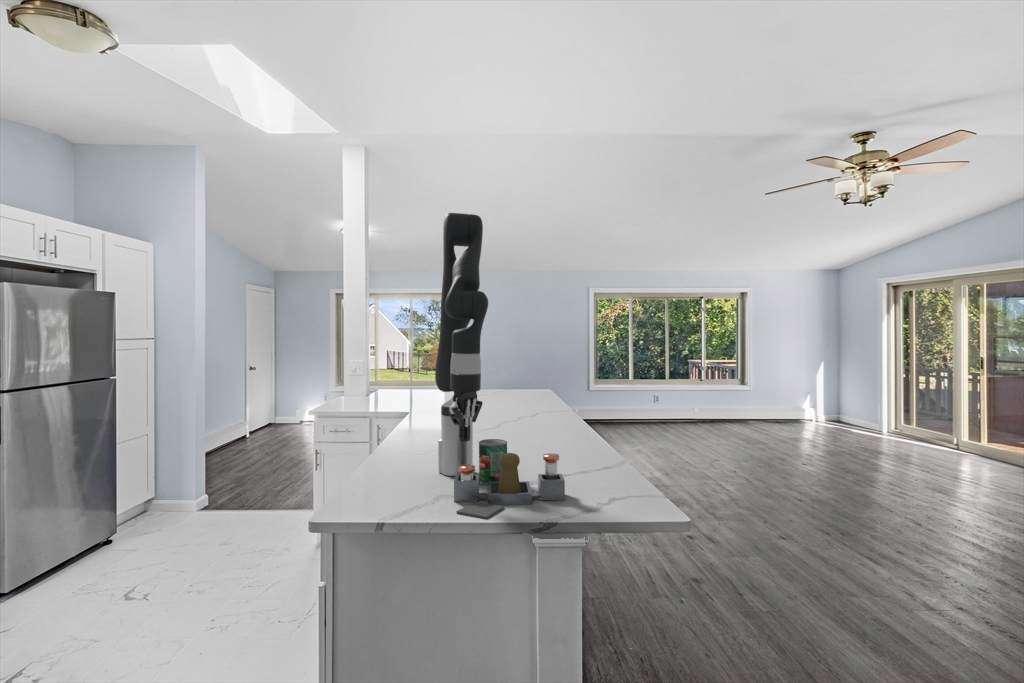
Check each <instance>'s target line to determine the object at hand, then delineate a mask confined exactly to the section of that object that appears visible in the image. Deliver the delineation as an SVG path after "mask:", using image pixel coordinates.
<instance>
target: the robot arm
mask: <svg viewBox="0 0 1024 683" xmlns="http://www.w3.org/2000/svg"><path fill="white" fill-rule="evenodd" d="M483 226H484V225H483V220H482V218H481V217H480V216H479V215H478V214H473V213H461V212H448V213H446V214H445V216H444V220H443V229H442V230H443V232H442V233H443V235H442V236H443V237H442V238H443V241H442V242H443V246H442V247H443V248H442V249H443V251H442V252H443V264H442V265H443V271H442V281H441V282H442V283H441V284H442V285H441V298H440V324H439V325H440V326H439V327H440V328H439V340H438V348H437V353H436V360H435V361H436V362H435V370H434V373H435V374H434V377H435V384H436V387H437V389H438V390H439V391H441V392H443V393H449V392H451V393H452V392H453V396H452V397H451V398H450V399H449V400H447V401H446V402H444V403H443V404H442V405H441V407H440V414H441V416H440V418H441V419H440V420H441V423H440V424H441V426H440V427H441V430H440V432H441V433H440V435H441V436H440V437H441V438H440V439H439V440H438V445H437V446H438V450H437V451H438V452H437V453H438V462H437V463H438V473H439V474H440V473H441V474H442V475H444V476H450V477H455V476H456V475H461V472H459V466H461V465H474V459H473V458H474V450H473V448H474V447H473V445H474V441H473V440H474V438H473V437H474V436H473V434H474V432H473V430H474V428H473V427H474V426H473V423H475V422H476V421H477V419H478V416H479V414H480V412H481V410H482V407H483V401H481V400H479V399H478V393H477V392H479V391H481V383H482V380H481V377H482V360H481V337H482V330H483V324H484V321H485V317H486V315H487V311H488V307H489V299H488V297H487V295H486V293H485V292H483V291H481V290H480V285H481V284H480V283H481V280H480V260H481V254H482V245H483V236H484V235H483V230H484V228H483ZM455 247H464V248H465V247H467V248H466V249H464V251H463V252H462V253H461V254H459V255H458V257H456V252H455ZM471 320H473V322H472V324H471V325H469V324H470V322H471Z"/></svg>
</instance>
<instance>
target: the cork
mask: <svg viewBox="0 0 1024 683" xmlns="http://www.w3.org/2000/svg"><path fill="white" fill-rule="evenodd" d="M520 462H521V461H520V456H519V455H518V454H517V453H513V452H507V453H504V454H502V455H500V457H499V465H500V466H501V471H500V479H499V487H498V492H497V493H522V492H521V491H520V483H519V482H520V478H519V476H520V475H519V469H518V467H519V465H520Z"/></svg>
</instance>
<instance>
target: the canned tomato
mask: <svg viewBox="0 0 1024 683" xmlns="http://www.w3.org/2000/svg"><path fill="white" fill-rule="evenodd" d="M504 453H508V441H507V440H506V439H499V438H489V439H488V438H486V439H482V440H479V441H478V465H479V466H478V472H479V473H478V475H479V483H480V482H481V483H484V484H483V485H485V484H488V482H499V479H500V471H501V466H500V465H499V457H500V455H502V454H504ZM481 483H480V484H481Z"/></svg>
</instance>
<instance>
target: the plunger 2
mask: <svg viewBox="0 0 1024 683" xmlns="http://www.w3.org/2000/svg"><path fill="white" fill-rule="evenodd" d="M542 459H543V461H544V465H545V466H544V469H545V470H544V471H545V472H544V474H545V480H554V479H557V474H558V461H559V460H560V454H558V453H552V452H551V453H550V452H549V453H544V454H542Z"/></svg>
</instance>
